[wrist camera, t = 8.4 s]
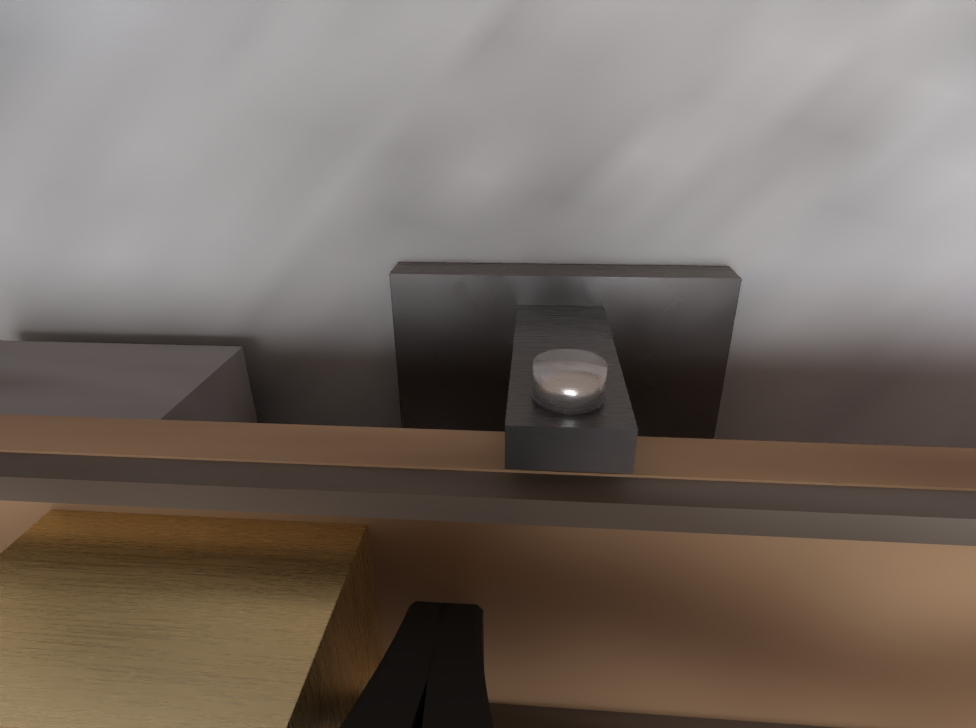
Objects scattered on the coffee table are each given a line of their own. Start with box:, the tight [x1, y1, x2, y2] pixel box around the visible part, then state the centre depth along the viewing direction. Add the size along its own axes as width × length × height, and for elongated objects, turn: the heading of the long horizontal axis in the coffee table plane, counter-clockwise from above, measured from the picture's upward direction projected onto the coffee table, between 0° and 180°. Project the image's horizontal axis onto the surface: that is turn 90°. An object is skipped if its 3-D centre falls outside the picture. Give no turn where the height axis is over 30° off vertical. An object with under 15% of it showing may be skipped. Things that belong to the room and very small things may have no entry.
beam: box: [0, 340, 976, 728], centre depth 13 cm, size 6×29×6 cm, turn 91°
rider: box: [0, 509, 383, 728], centre depth 10 cm, size 4×6×4 cm, turn 91°
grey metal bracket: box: [390, 262, 741, 474], centre depth 14 cm, size 10×8×6 cm
